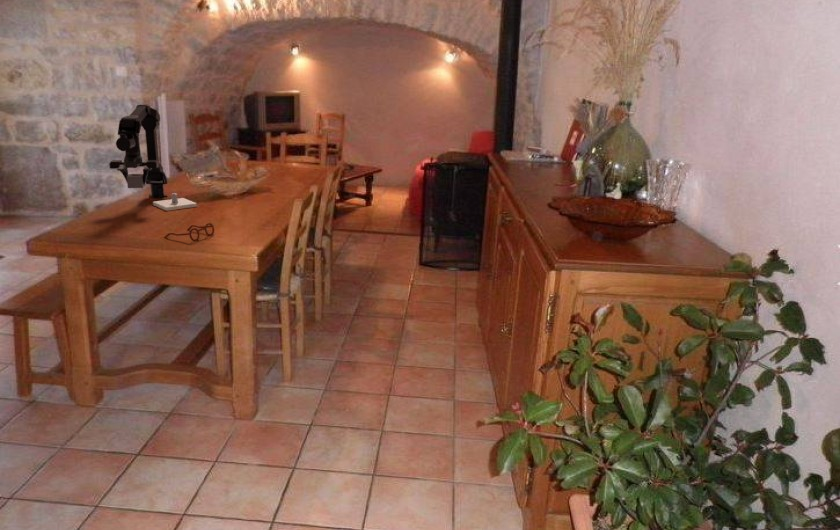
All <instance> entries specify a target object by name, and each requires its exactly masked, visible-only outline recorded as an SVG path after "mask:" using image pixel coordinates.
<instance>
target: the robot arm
mask: <svg viewBox="0 0 840 530" xmlns="http://www.w3.org/2000/svg"><path fill="white" fill-rule="evenodd" d="M160 122H161V115H160V113H159V112H158V110H156V109H155V108H152V107H151V106H150V105H148V104H137V105H136V107H135V109H134V110H133V111H132V112H131V113H130V114H129V115H124V116H123V117H121V118H120V120H119V122H118V129H117V135H118V136H119V138H117V139H116V142H115V146H116V148H117V149H118V150H119V151H121V152H125V155H124V159H123V160H122V159H113V160H112V161H110V162H109V169H112V170H113V169H115V170H117V171H119V172H120V173H121V174H122V175H123V178H124V179H125V181H126V183H127V176H128V175H129V171H128V169H136V168H138V167H143V169H142V174H143V183H144V184H145V185H149V186H150V194H148V196H149V197H151V198H153V199H158V198H164V197H165V198H166V197H168V195H167V194H165V186H164V185H168V178H167V177H168V176H167V175H166V173H165V172H164V167H163V166H162V164H161V163H160V161H159V160H160V159H159V149H158V137H157V130H158V128H159V126H160ZM141 129H143V130H144V132H145V139H146V140H145V142H146V152H147V153H146V155H147V161H143V157H142V155H141V145H140V133H141Z"/></svg>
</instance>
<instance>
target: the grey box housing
mask: <svg viewBox="0 0 840 530" xmlns="http://www.w3.org/2000/svg"><path fill="white" fill-rule="evenodd" d="M126 184H127V189H144V187H146V183H145V184H144V183H143V173H128V176H127V182H126Z"/></svg>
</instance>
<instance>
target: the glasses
mask: <svg viewBox="0 0 840 530" xmlns="http://www.w3.org/2000/svg"><path fill="white" fill-rule="evenodd" d="M193 227H194V228H193ZM207 228H212V232H211V233H208V230H207ZM186 231H189V232H185V233H175V232H169V233H167V234H166V235H165V236H163V238H164V239H166V238H168V237H169V236H171V235H172V236H173V235H174V236H177V237H178V236H179V237H180V236H189V238H190V240H191V241H192V242H196V241H198V240H199V239H200V231H205V234H206V235H207V236H209V237H210V236H213V235H214V233H215V227H214V225H213V223H211V222H208V223H206V224H205V225H202V226H201V225H200V226H199V225H196V224H195V225H194V224H192V225H190V226H189V227H188V228H187V229H186ZM192 231H196V234H197V237H196V238H195V239H194V238H193V236H192Z"/></svg>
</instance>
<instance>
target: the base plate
mask: <svg viewBox="0 0 840 530" xmlns="http://www.w3.org/2000/svg"><path fill="white" fill-rule="evenodd" d="M170 195H171V196H170V197H171V199H165V200H157V201H155V200H154V201H152V205H153V206H154V207H157V208H159V209H161V210H163V211H166V212H167V211H168V212H169V211H175V210H182V209H189V208H197V207H198V203H197V202H194V201H192V200H190V199H187V198H185V197H180V198H178V194H177V193H176V192H173V193H171V194H170Z"/></svg>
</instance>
